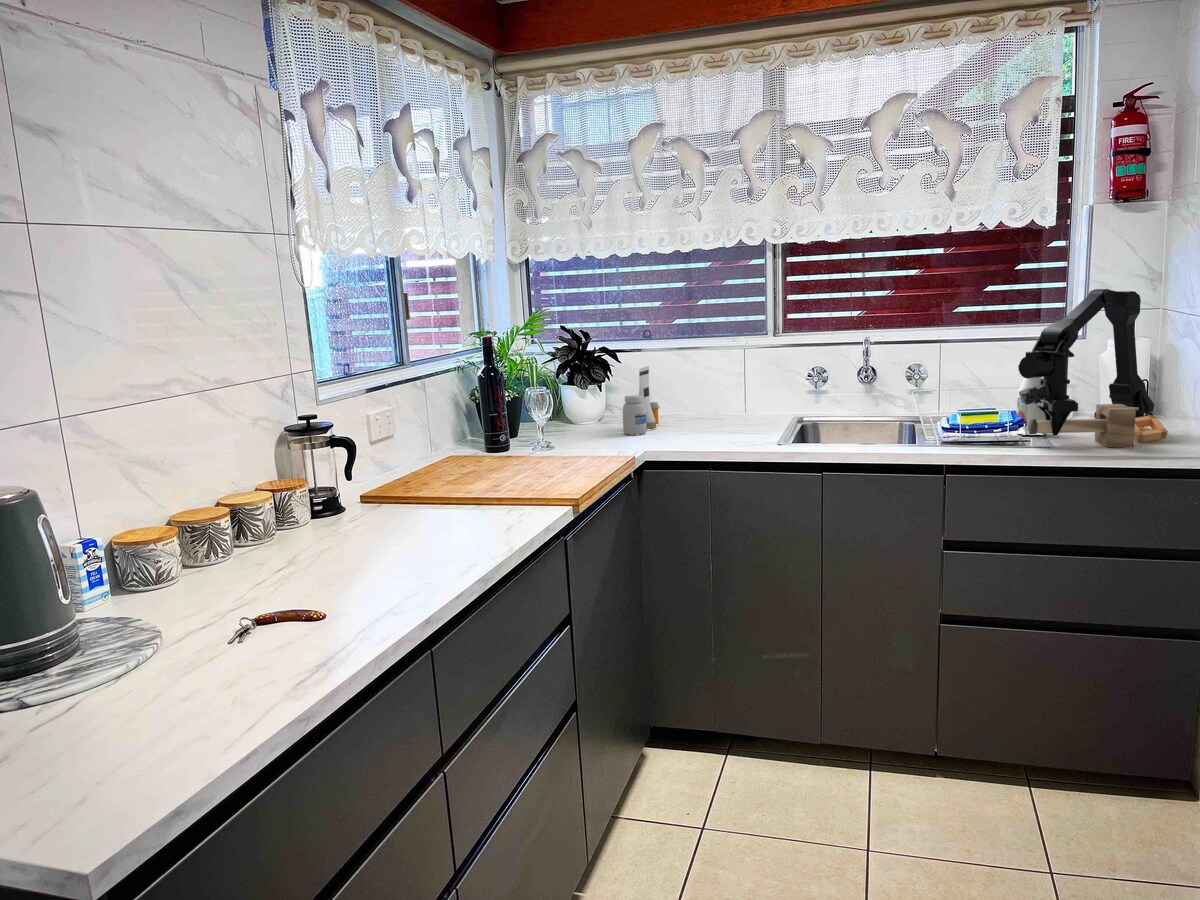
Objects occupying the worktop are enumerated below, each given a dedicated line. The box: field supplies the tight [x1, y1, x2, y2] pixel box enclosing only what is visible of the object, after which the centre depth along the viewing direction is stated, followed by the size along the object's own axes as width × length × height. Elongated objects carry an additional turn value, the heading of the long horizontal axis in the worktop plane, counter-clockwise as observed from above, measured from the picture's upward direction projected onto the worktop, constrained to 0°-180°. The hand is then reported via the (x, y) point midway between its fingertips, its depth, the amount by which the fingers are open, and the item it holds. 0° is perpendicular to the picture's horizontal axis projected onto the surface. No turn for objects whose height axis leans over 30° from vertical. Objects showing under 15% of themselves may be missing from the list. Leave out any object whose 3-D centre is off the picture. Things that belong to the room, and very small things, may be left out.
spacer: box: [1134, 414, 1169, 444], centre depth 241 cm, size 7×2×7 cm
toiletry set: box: [622, 365, 661, 436], centre depth 299 cm, size 25×8×21 cm, turn 159°
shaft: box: [1028, 418, 1106, 434], centre depth 239 cm, size 4×23×4 cm, turn 80°
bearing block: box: [1094, 403, 1136, 449], centre depth 238 cm, size 10×6×10 cm, turn 170°
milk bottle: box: [1016, 377, 1047, 435], centre depth 257 cm, size 8×8×20 cm
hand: (1053, 434), depth 241 cm, fingers closed on shaft, 3 cm apart
